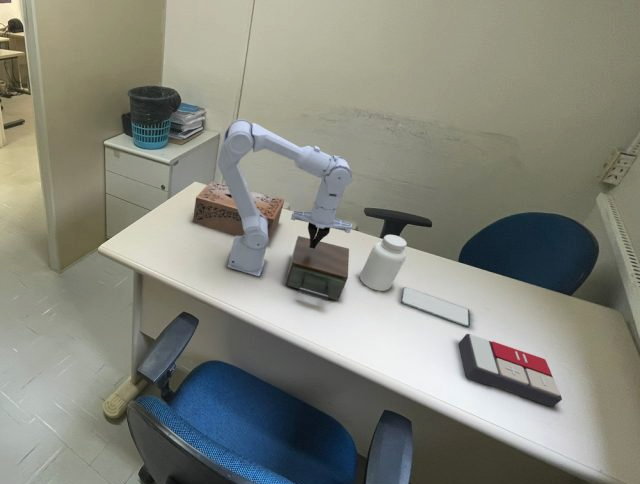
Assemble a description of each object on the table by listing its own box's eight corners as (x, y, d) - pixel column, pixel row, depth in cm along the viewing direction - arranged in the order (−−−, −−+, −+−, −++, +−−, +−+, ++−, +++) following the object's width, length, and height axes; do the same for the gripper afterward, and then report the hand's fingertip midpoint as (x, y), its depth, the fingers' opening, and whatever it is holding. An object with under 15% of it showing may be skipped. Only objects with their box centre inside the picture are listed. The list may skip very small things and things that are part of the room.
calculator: (566, 398, 79) (477, 365, 85) (551, 409, 82) (465, 377, 87) (548, 357, 87) (467, 330, 93) (535, 369, 90) (458, 342, 95)
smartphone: (470, 326, 99) (401, 301, 106) (469, 327, 99) (400, 302, 106) (469, 309, 104) (403, 286, 111) (468, 311, 104) (403, 288, 111)
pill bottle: (394, 293, 109) (417, 250, 101) (363, 289, 111) (383, 246, 102) (385, 275, 116) (405, 233, 107) (355, 271, 117) (374, 229, 109)
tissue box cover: (277, 224, 137) (284, 199, 132) (267, 245, 127) (273, 219, 121) (208, 204, 148) (211, 180, 143) (192, 222, 138) (196, 197, 132)
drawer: (335, 312, 102) (343, 294, 98) (284, 296, 106) (290, 278, 103) (338, 272, 115) (345, 255, 111) (293, 260, 120) (298, 243, 116)
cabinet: (338, 300, 107) (347, 277, 102) (285, 284, 112) (292, 262, 107) (340, 270, 117) (349, 248, 112) (291, 257, 122) (298, 235, 117)
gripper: (294, 204, 102) (283, 246, 109) (357, 218, 96) (340, 261, 104) (298, 192, 107) (286, 233, 115) (357, 205, 102) (341, 247, 109)
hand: (312, 246), depth 110 cm, fingers closed
